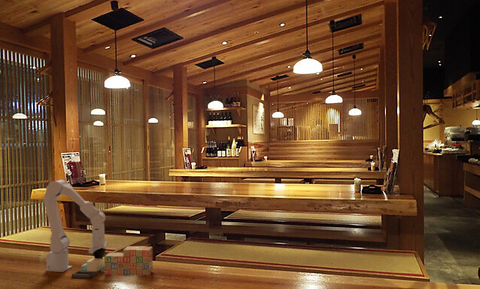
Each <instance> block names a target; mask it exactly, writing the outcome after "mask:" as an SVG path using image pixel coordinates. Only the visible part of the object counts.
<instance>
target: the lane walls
mask: <svg viewBox="0 0 480 289" xmlns="http://www.w3.org/2000/svg"><path fill="white" fill-rule="evenodd" d="M80 271H87V262H86V263H84V264H82V265H81V266H80ZM102 271H103V272H102ZM104 271H105V264H102V266H101V270H100V273H105V272H104Z"/></svg>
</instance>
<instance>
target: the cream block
mask: <svg viewBox="0 0 480 289" xmlns="http://www.w3.org/2000/svg"><path fill="white" fill-rule="evenodd" d="M86 263H87V270H86V271H94V272H97V271H98V272H100V271H101V270H100V269H101V266H103V259H96V258H95V257H94V258H91V259H89V260H86ZM98 272H97V273H98Z"/></svg>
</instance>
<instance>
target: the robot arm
mask: <svg viewBox="0 0 480 289" xmlns="http://www.w3.org/2000/svg"><path fill="white" fill-rule="evenodd" d="M45 188H46V191H45V193H44V197H43V204H44V208H45V211H46V215H47V220H48V223H49V224H48V225H49V228H50V232H51V234H50V235H51V236H50V238H49V241H50V244H49V249H50V251H49V252H48V253H47V255H46V260H45V261H46V269H45V272H58V273H59V272H60V273H63V272H65V271H67V270H69V269H71V268H72V267H73V265H69V248H68V247H69V246H70V243H71V240H70V238H69V237H68V235H67V232H65V230H64V228H63V224H62V220H61V219H62V218H61V214H60V211H59V207H58V206H59V205H58V203H57V202H58V201H57V200H58V198H59V197H60V196H61V195H62V196H67V197H69V198H70V199H71V200H72V201H73V202H74V203H76V204H77V205H78V206H79V211H81V212H82V213H83V214H84V215H85V216H86V217H87V218H88V219H89V222H90V223H91V225H92V227H91V228H92V229H91V230H92V232H91V234H92V235H91V236H92V237H91V239H92V242H91V243H92V245H91V247H90V248H89V249H88V254H92V255H93V257H94V258H96V259H102V260H103V259H104V258H103V257H104V256H105V252H106V250H107V247H108V246H109V242H108V241H105V220H106V214H105V213H104V212H103V211H100V209H98V208H96V206H95V205H94V202H91V201H89V200H87V201H86V200H85V199H84V198H83V197H82V196H81V195H80V194H79V193H78V192H77V191H76V190H75V189H74V188H73V187H72V185H71V184H70V183H68V182H67V181H66V180H65V179H59V180H53V181H51V182H49V184H48V185H47V186H46V187H45Z"/></svg>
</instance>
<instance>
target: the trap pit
mask: <svg viewBox="0 0 480 289" xmlns="http://www.w3.org/2000/svg"><path fill="white" fill-rule="evenodd" d="M96 276H98V272H94V271H87V270H85V271H81V270H77V271H75V272H73V273H72V274H71V278H73V279H75V278H76V279H93V278H95V277H96Z"/></svg>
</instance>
